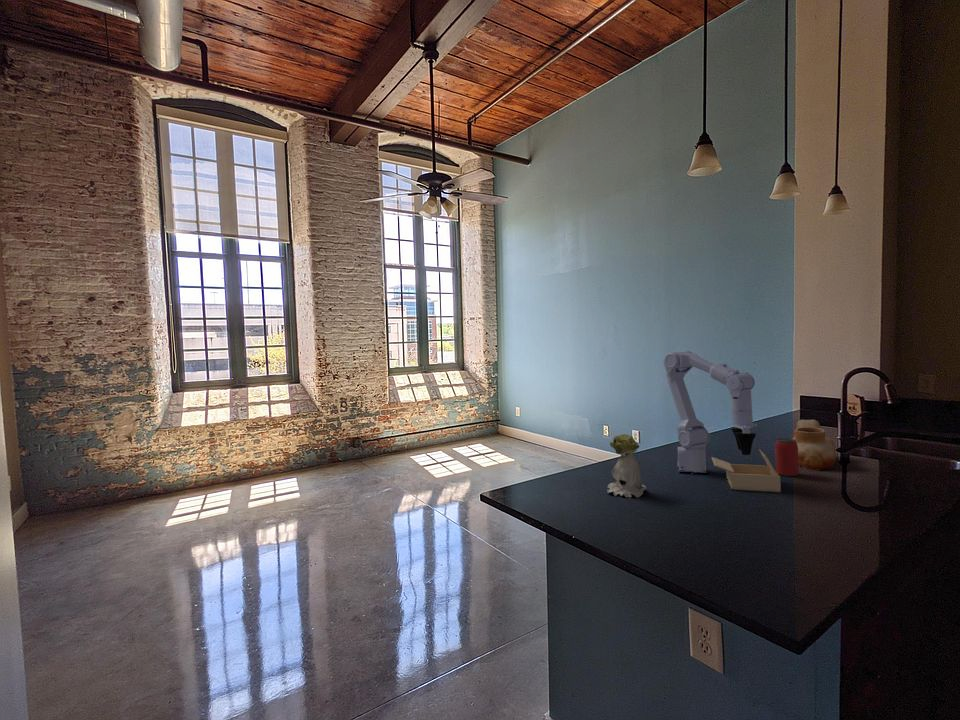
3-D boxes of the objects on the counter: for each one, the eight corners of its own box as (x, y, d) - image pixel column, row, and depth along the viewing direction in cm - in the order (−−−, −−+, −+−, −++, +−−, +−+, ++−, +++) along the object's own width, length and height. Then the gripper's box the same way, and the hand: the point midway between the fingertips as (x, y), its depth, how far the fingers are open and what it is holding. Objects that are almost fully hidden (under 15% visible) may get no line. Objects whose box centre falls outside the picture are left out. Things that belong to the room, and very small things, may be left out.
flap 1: (734, 471, 145) (733, 472, 145) (729, 463, 156) (729, 464, 156) (715, 464, 147) (714, 466, 147) (711, 456, 158) (711, 457, 158)
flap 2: (765, 457, 142) (767, 457, 141) (758, 449, 152) (760, 449, 152) (775, 474, 141) (776, 474, 141) (767, 465, 151) (769, 465, 151)
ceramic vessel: (831, 456, 180) (829, 418, 179) (840, 472, 157) (838, 429, 157) (788, 453, 187) (787, 417, 187) (791, 469, 165) (789, 427, 165)
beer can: (803, 476, 155) (802, 441, 155) (783, 477, 155) (782, 441, 155) (790, 471, 161) (789, 437, 161) (771, 472, 162) (770, 438, 161)
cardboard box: (731, 489, 145) (731, 473, 145) (726, 478, 157) (726, 463, 157) (780, 492, 140) (780, 476, 140) (771, 480, 152) (771, 465, 152)
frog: (644, 486, 152) (642, 431, 152) (646, 499, 140) (644, 438, 139) (607, 485, 156) (605, 431, 155) (606, 497, 143) (604, 438, 143)
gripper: (760, 413, 141) (762, 457, 141) (752, 407, 154) (754, 448, 154) (734, 413, 143) (736, 456, 143) (728, 408, 157) (730, 447, 157)
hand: (744, 452), depth 149 cm, fingers open, 7 cm apart
